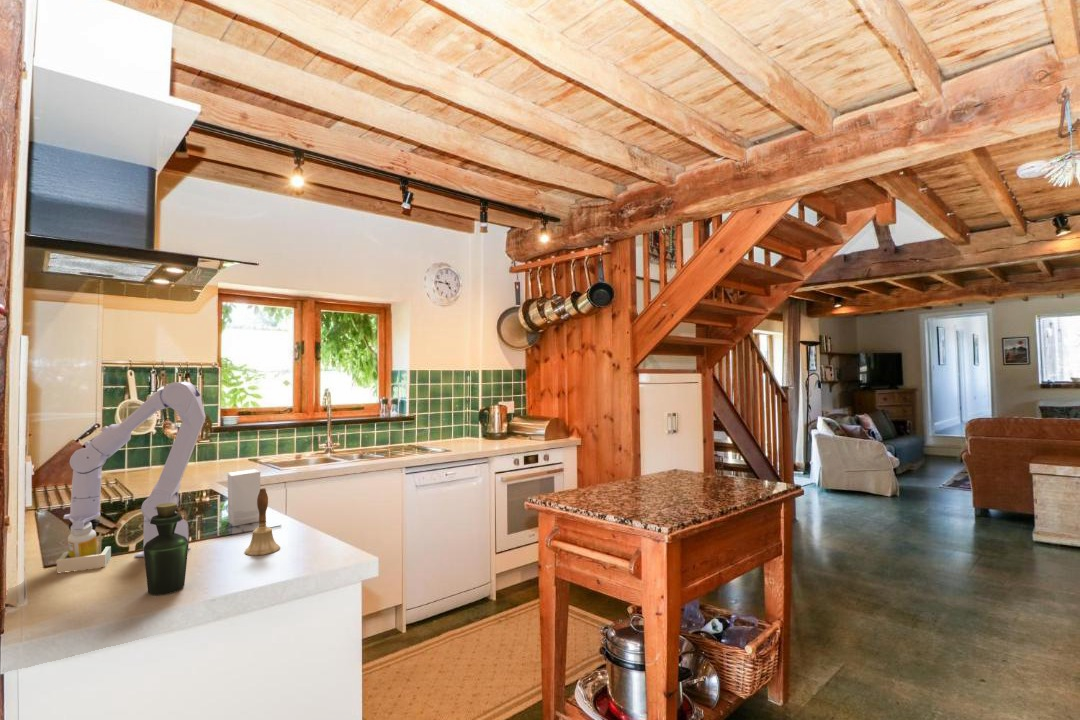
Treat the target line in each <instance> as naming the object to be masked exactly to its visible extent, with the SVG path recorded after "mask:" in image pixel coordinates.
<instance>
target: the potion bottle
mask: <svg viewBox="0 0 1080 720" xmlns="http://www.w3.org/2000/svg"><path fill="white" fill-rule="evenodd" d="M177 507H178V505H177V503H164V504H159V505H157V506H156V508H157V513H158V515H156V516H153V517H152V519H151V521H150V524H154V525H156V527H157V531H158V534H159V535H158V536H156V537H154V538H153V539H151V540H150V541H148V542H147V543H146V544H145V546H144V545H143V551H144V557H143V558H144V565H145V566H144V567H145V576H146V584H147V585H146V586H147V587H146V588H147V593H148V594H149V595H150V596H151V595H152V596H161V595H162V596H164V595H169V594H172V593H176V592H178V591H180V590H182V589H183V588H184V586H185V582H186V581H185V580H186V572H187V564H188V562H187V561H188V553H189V549H188V547H189V546H190V544H189V543H190V541H189V539H188V540H187V538H186V537H185V536H182V535H179V534H177V533H174V532H175V528H176V525H177V522H179V521H181V520H182V519H183V516H182V514H181V513H180V512H177ZM175 511H176V513H175Z"/></svg>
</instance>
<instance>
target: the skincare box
mask: <svg viewBox="0 0 1080 720" xmlns="http://www.w3.org/2000/svg"><path fill="white" fill-rule="evenodd" d="M260 489H261V471H259V470H257V469H253V468H252V469H247V470H239V471H234V472H233V471H231V472H230V471H229V472H227V514H228V515H227V518H228V519H227V520H228V521H227V522H228V523H229V524H230V526H232V527H236V526H242V525H247V524H253V523H259V510H258V507H257V498H258V494H259V492H260Z"/></svg>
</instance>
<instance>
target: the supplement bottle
mask: <svg viewBox="0 0 1080 720" xmlns="http://www.w3.org/2000/svg"><path fill="white" fill-rule="evenodd" d="M97 540H98V539H97V532H96V531H94V530H93V529H92V523H91V522H89V521H88V522H86V523H84V528H83V529H75V530H72V526H71V531H70V534H68V537H67V546H68V551H69V558H74V557H82V556H89V555H97V554H99V553H98V542H97Z"/></svg>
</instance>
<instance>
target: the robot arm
mask: <svg viewBox="0 0 1080 720" xmlns="http://www.w3.org/2000/svg"><path fill="white" fill-rule="evenodd" d="M168 408H170V409H172V410H174V411H175V413H176V414H177V415H178V417H179V418H180V420H181V424H180V426H179V429H178V431H177V434H176V436H175V439H174V441H173V443H172V446H171V449H170V450H169V454H168V456H167V458H166V461H165V464H164V465H163V469H162V471H161V473H160V475H159V478H158V480H157V482H156V484H155V485H154V487H153V489H152V491H151V493H150V495H149V496H148V497H147V498H146V499H145V500H144V501H143V502H142V505H141V508H140V509H141V511H140V512H141V514H142V515H143V547H144V546H145V544H146V543H147V542H148V541H150V540H151V539H153V538H154V537H156V536H158V535H159V534H158V531H157V527H156V525H154V524H150V521H151V519H152V517H153V516H156V515H158V513H157V508H156V506H157V505H159V504H164V503H177V506H178V505H179V501H180V497H179V492H180V489H181V482H182V478H183V477H184V474H185V473H186V469H187V467H188V464H189V462H190V459H191V456H192V454H193V451H194V449H195V447H196V444H197V441H198V440H199V436H200V434H201V432H202V429H203V428H204V427H203V426H204V424H205V421H206V418H207V415H206V412H205V408H204V405H203V400H202V394H201V392H200V391H199V390H198V389H197V387H196V386H195V385H194V384H193V383H191V382H189V381H180V382H179V381H175V382H170V383H168V384H166V385H165V386H164V387H163V388H162V389H159V390H158V391H156V392H155V393H153V394H152V395H151V396H149V397H148V398H147V399H146V400H145V401H144V402H143V403H142V404H141V405H140V406H138V407H137V408H136V409H135V410H134V411H133V412H132V413H130V415H128V416H127V417H126V418H124V420H123V421H122V422H120V423H118V424H117V423H112V424H110V425H108V426H107V425H105V426H103V427H102V428H100V431H101V432H100V433H99V434H98V435H97V436H96V437H94V438H93V439H92V440H87V441H86V442H85V443H84V444H83V445H84V446H85V448H84V447H83V448H80V449H79V448H78V449H77V450H75V451H74V452H73V454H72V455H70V459H69V465H70V468H71V469H72V470H73V471H72V478H71V479H72V480H71V491H70V492H71V494H70V509H69V513H68V514H64V515H63V520H69V521H70V523H69V524H68V529H69V531H70V532H71V526H72V530H75V529H83V528H84V523H86V522H88V521H89V522H91V523H92V529H93V530H94V531H95V530H96V528H97V527H98V525H99V523H100V519H97V518H100V517H101V512H100V508H101V494H102V493H101V491H102V489H101V488H102V480H103V479H102V478H103V477H102V471H103V470H102V469H103V466H104V465H105V463H106V462H107V459H109V458H111V457H112V456H113V455H114V454H115V453H116V452H118V451H119V450H120V449H122V447H123V446H125V445H126V444H127V443H128V442H130V441H131V439H132V438H131V437H132V432H133V431H134V430H135V429H137V428H139V427H140V425H142V424H143V423H145V422H146V421H147V420H148V419H150V418H151V417H153V415H155V414H156V413H157V412H159V411H160V410H164V409H168ZM175 513H177V510H176V511H175ZM95 532H96V531H95ZM174 533H177V534H179V535H182V536H185V537H186V538H187V540H188V541H189V523H188V521H187V520H186V519H184V518H182V520H181V521H179V522H177V525H176V528H175V532H174ZM191 548H192V547H191V546H188V550H191ZM134 557H135V558H144V550H143V551H141V552H139V553H135V554H134Z"/></svg>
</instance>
